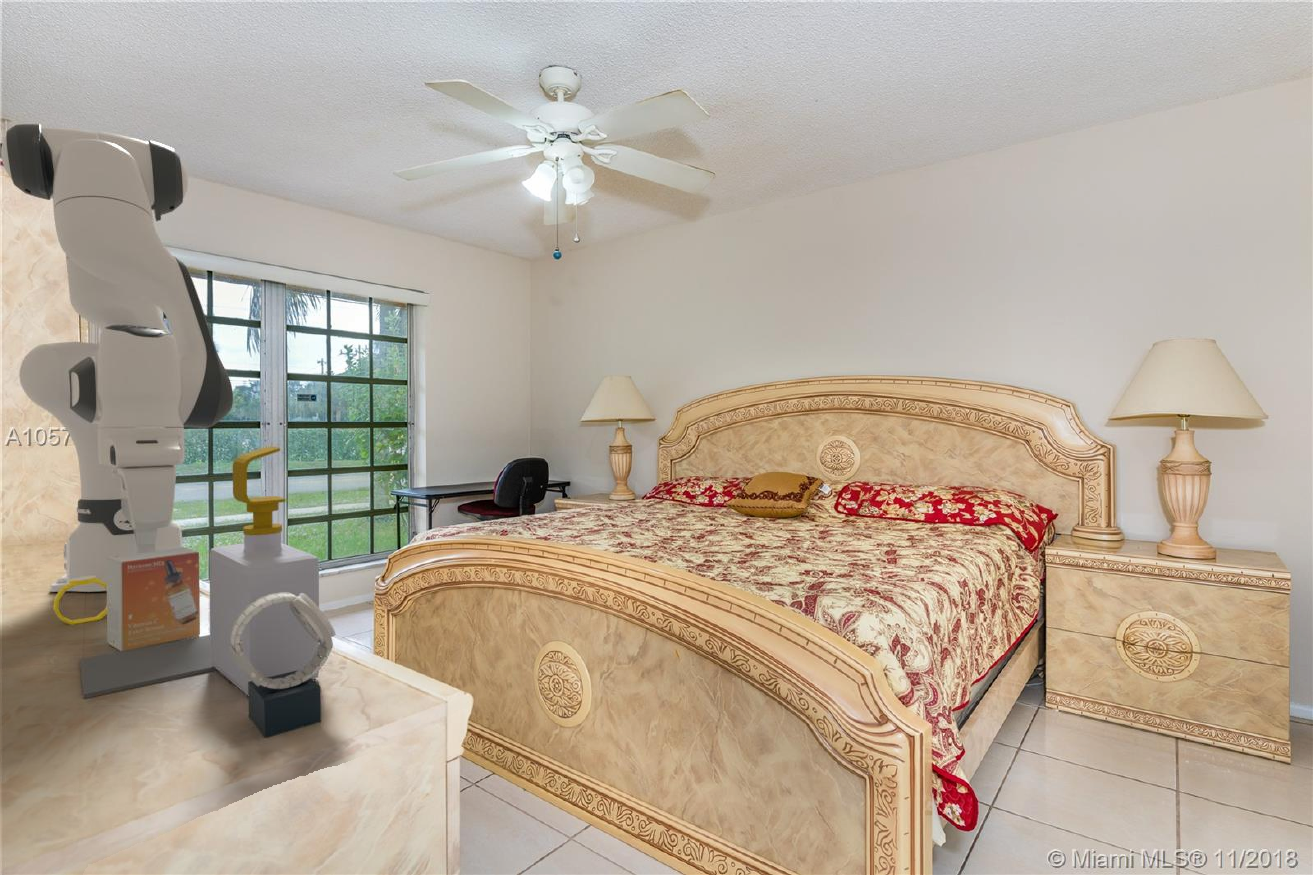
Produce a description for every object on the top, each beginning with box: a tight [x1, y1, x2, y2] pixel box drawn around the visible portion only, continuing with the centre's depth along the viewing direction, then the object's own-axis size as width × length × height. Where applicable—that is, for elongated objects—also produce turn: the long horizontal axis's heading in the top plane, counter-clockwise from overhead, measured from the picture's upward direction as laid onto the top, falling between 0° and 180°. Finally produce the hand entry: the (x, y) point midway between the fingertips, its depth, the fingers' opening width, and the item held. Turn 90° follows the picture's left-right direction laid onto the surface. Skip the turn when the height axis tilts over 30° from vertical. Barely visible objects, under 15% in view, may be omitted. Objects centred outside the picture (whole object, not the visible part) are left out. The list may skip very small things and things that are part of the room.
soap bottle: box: [208, 445, 320, 696], centre depth 68 cm, size 12×7×23 cm, turn 49°
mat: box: [78, 634, 218, 699], centre depth 73 cm, size 13×14×1 cm
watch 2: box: [229, 592, 336, 739], centre depth 58 cm, size 6×8×11 cm
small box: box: [106, 547, 201, 652], centre depth 80 cm, size 8×6×10 cm
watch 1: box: [52, 575, 107, 626], centre depth 88 cm, size 6×3×6 cm, turn 138°
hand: (145, 556), depth 86 cm, fingers closed
